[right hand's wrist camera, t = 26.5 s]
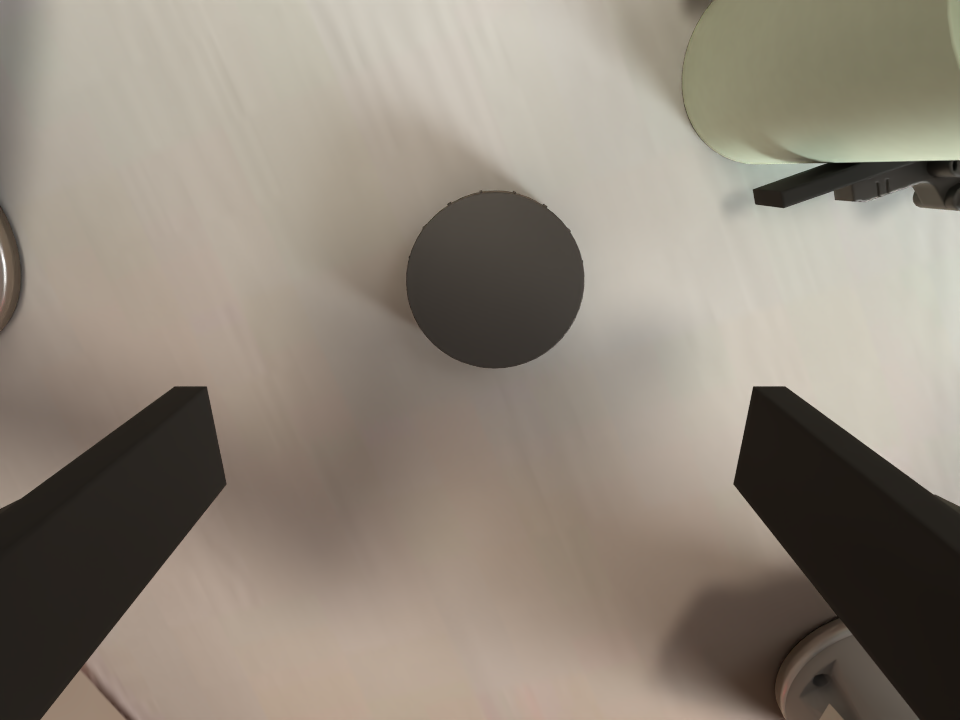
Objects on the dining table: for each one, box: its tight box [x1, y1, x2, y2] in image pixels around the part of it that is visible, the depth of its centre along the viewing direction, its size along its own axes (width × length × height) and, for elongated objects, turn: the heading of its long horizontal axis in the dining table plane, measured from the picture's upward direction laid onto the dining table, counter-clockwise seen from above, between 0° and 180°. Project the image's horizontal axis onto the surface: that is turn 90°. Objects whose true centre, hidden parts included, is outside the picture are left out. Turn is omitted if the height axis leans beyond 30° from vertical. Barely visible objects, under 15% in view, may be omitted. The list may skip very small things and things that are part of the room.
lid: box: [406, 190, 584, 368], centre depth 32 cm, size 11×11×2 cm
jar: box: [682, 0, 960, 164], centre depth 19 cm, size 10×10×20 cm
